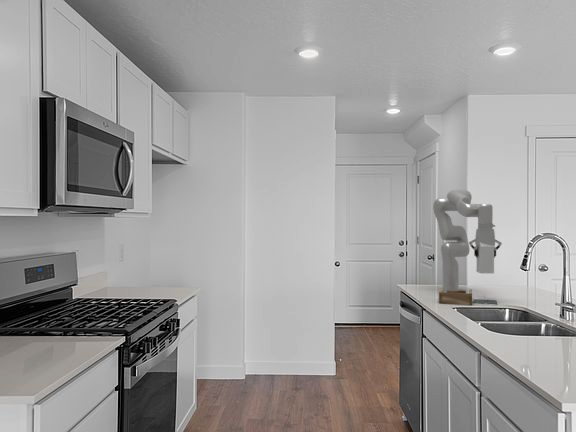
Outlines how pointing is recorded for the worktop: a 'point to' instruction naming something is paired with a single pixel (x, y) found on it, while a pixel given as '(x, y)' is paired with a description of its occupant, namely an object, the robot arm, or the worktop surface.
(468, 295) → the rack
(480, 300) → the mat
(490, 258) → the milk carton
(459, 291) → the offcut upper
